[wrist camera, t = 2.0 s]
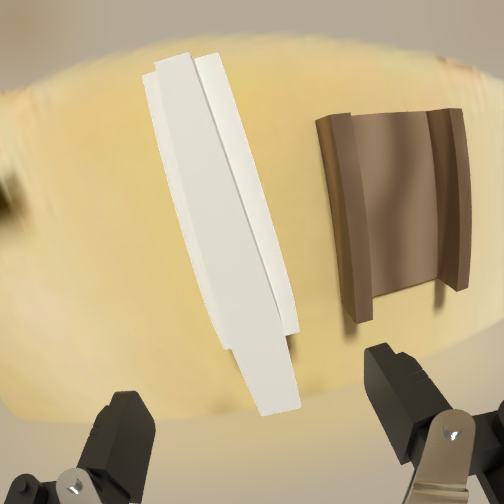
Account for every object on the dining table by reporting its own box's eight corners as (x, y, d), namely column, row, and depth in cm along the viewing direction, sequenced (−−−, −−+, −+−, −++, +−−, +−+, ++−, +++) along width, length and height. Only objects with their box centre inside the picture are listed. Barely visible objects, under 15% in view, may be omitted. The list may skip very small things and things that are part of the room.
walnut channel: (435, 111, 22) (461, 108, 18) (446, 272, 27) (468, 287, 23) (315, 120, 22) (329, 114, 18) (341, 302, 27) (356, 324, 23)
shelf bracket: (229, 66, 21) (240, 39, 10) (288, 312, 33) (316, 409, 22) (162, 85, 21) (108, 80, 10) (239, 324, 33) (250, 424, 22)
